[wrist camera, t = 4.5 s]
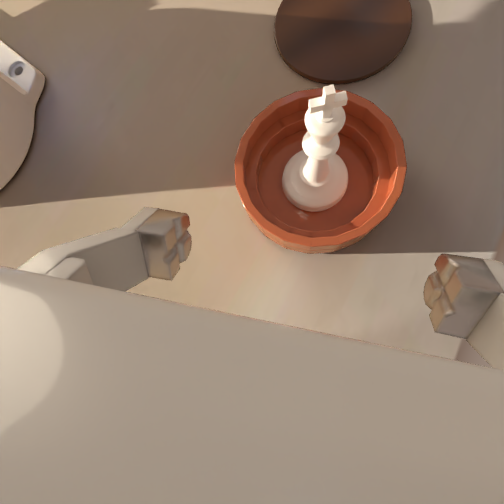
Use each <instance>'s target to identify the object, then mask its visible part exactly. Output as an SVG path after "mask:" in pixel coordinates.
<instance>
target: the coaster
mask: <svg viewBox="0 0 504 504" xmlns="http://www.w3.org/2000/svg"><path fill="white" fill-rule="evenodd" d="M411 23H412V11H411V6H410V3H409V0H283V1H282V3H281V5H280V7H279V9H278V12H277V15H276V18H275V24H274V34H275V42H276V45H277V49H278V51H279V53H280V55H281V57H282V58H283V60H284V61H285V62H286V63H287V64H288V66H289V67H290V68H292V69H293V70H294V71H295V72H297V73H298V74H300V75H302V76H303V77H306V78H308V79H310V80H313V81H317V82H321V83H327V84H345V83H351V82H356V81H359V80H363V79H365V78H368V77H370V76H372V75H374V74H376V73H378V72H379V71H381V70H382V69H384V68H385V67H386V66H388V65H389V64H390V63H391V62H392V61H393V60H394V59H395V58H396V57H397V55H398V54H399V53H400V52H401V50H402V48H403V47H404V45H405V43H406V40H407V38H408V36H409V33H410V29H411Z"/></svg>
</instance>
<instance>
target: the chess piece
mask: <svg viewBox="0 0 504 504" xmlns="http://www.w3.org/2000/svg"><path fill="white" fill-rule="evenodd" d="M347 100H348V98H347V94H346V91H342V92H338V93H336V92H335V88H334V84H332V85H328V86H324V88H323V95H322V96H321V97H317V98H313V99H309V103H308V107H309V108H308V110H307V112H306V114H305V125H306V128H307V130H308V131H307V132H306V134H305V135H304V137H303V140H302V147H303V150H302V151H300V152H298V153H296V154H295V155H294V156H293V157H292V158H291V159H290V160H289V161H288V163H287V164H286V166H285V169H284V172H283V176H282V188H283V191H284V194H285V196H286V197H287V199H288V200H289V201H290V202H291V203H292V204H293V205H294V206H296V207H298V208H299V209H302V210H305V211H310V212H318V211H323V210H327V209H329V208H331V207H333V206H334V205H336V204H337V203H338V202H339V201H340V200H341V199H342V197H343V196H344V194H345V192H346V189H347V185H348V171H347V167H346V165H345V163H344V162H343V160H342V159H341V158H340V157H339V156H338V155H337V154H336V152H337V150H338V148H339V145H340V140H339V136H338V132H339V131H340V130H341V129H342V127H343V126H344V123H345V119H346V116H345V111H344V109H343V108H342V106H345V105H346V104H347Z"/></svg>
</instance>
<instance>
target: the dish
mask: <svg viewBox="0 0 504 504" xmlns="http://www.w3.org/2000/svg"><path fill="white" fill-rule="evenodd" d="M342 91H343V90H336V89H335V92H336V93H338V92H342ZM346 94H347V98H348V100H347V104H346V105H345V106H342V108H343V109H344V111H345V116H346V119H345V123H344V126H343V127H342V129H341V130H340V131H339V132H338V136H339V140H340V145H339V148H338V150H337V152H336V154H337V155H338V156H339V157H340V158H341V159H342V160H343V162H344V163H345V165H346V167H347V171H348V185H347V189H346V192H345V194H344V196H343V197H342V199H341V200H340V201H339V202H338V203H337V204H336V205H334V206H333V207H331V208H329V209H327V210H323V211H318V212H310V211H305V210H302V209H299V208H298V207H296V206H294V205H293V204H292V203H291V202H290V201H289V200H288V199H287V197H286V196H285V194H284V191H283V188H282V176H283V172H284V169H285V166H286V164H287V163H288V161H289V160H290V159H291V158H292V157H293V156H294V155H295V154H296V153H298V152H300V151H302V150H303V147H302V140H303V137H304V135H305V134H306V132H307V131H308V130H307V128H306V125H305V114H306V112H307V110H308V108H309V107H308V103H309V99H313V98H317V97H321V96H322V95H323V88H318V89H311V90H304V91H298V92H294V93H292V94H290V95H288V96H285V97H283V98H281V99H279V100H276V101H274V102H273V103H272V104H271V105H269V106H268V107H267V108H266V109H265V110H263V111H262V112H261V113H260V114H259V115H257V116H256V117H255V118H254V120H253V121H252V123H251V124H250V126H249V127H248V129H247V130H246V132H245V133H244V135H243V136H242V138H241V140H240V144H239V147H238V151H237V154H236V158H235V181H236V187H237V190H238V192H239V195H240V197H241V200H242V202H243V205H244V207H245V209H246V211H247V213H248V215H249V217H250V219H251V220H252V221H253V223H254V224H255V225H256V226H257V227H258V228H259V230H260V231H261V232H262V233H263V234H264V235H265V236H266V237H267V238H269V239H271V240H272V241H274V242H276V243H277V244H279V245H281V246H282V247H284V248H286V249H290V250H294V251H299V252H303V253H307V254H314V253H327V252H335V251H338V250H340V249H343V248H345V247H348V246H350V245H353V244H355V243H357V242H359V241H360V240H361V239H362V238H363V237H365V236H366V235H367V234H368V233H369V232H371V231H372V230H373V229H374V228H375V227H376V226H377V225H379V224H380V223H381V222H382V221H383V220H384V219H385V218H386V217H387V216H388V215H389V213H390V212H391V210H392V208H393V207H394V205H395V203H396V202H397V200H398V198H399V197H400V195H401V193H402V190H403V185H404V180H405V175H406V170H407V163H406V157H405V150H404V144H403V140H402V138H401V136H400V135H399V133H398V131H397V129H396V127H395V125H394V124H393V122H392V120H391V119H390V118H389V117H388V116H387V115H386V114H385V113H384V112H382V111H381V110H380V109H379V108H378V107H377V106H376V105H375V104H374V103H371V101H369V100H367V99H364V98H362V97H360V96H358V95H356V94H353V93H351V92H348V91H346Z"/></svg>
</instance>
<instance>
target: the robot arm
mask: <svg viewBox="0 0 504 504" xmlns="http://www.w3.org/2000/svg"><path fill="white" fill-rule="evenodd" d="M44 84H45V77H44V75H43V74H42V73H41V72H40V71H39V70H38V69H36V68H35V67H34V66H33V65H31V64H30V63H29V62H28V61H26V60H25V59H24V58H23V57H21V56H20V55H19V54H18V53H16V52H15V51H14V50H12V49H11V48H10V47H9V46H7V45H6V44H5V43H4V42H2V41H1V40H0V190H1V189H2V188H3V187H4V186H5V185H6V184H7V183H8V182H9V181H10V180H11V179H12V177H13V176H14V175H15V173H16V172H17V171H18V169H19V168H20V166H21V164H22V163H23V161H24V159H25V157H26V155H27V152H28V150H29V147H30V144H31V140H32V136H33V130H34V114H35V107H36V104H37V102H38V100H39V97H40V95H41V93H42V90H43V87H44ZM189 226H190V221H189V216H188V215H187V214H186V213H181V212H175V211H169V210H164V209H159V208H152V207H144V208H143V209H142V210H140V211H139V212H138V213H137V214H136V215H135V216H134V217H132V218H131V219H130V220H129V221H128V222H127V223H125V224H124V225H123V226H122V227H121V228H113V229H110V230H107V231H103V232H100V233H97V234H94V235H90V236H87V237H84V238H81V239H77V240H74V241H71V242H67V243H64V244H61V245H58V246H54V247H51V248H48V249H44V250H42V251H40V252H39V253H38V254H36V255H35V256H34V257H32V258H31V259H29V260H28V261H27V262H25V263H24V264H22V265H21V266H20V267H18V268H17V269H14V268H9V267H4V266H0V504H504V264H503V263H502V262H500V261H498V260H489V259H481V258H473V257H465V256H458V255H450V254H441V255H440V256H439V257H438V259H437V261H436V262H435V267H436V269H437V271H436V272H434V273H432V274H431V275H429V276H428V278H427V281H426V283H425V286H424V292H423V293H424V301H425V304H426V305H427V306H428V307H429V308H430V309H431V310H432V311H431V313H430V314H429V316H430V319H431V322H432V325H433V328H434V331H435V332H436V333H441V334H446V335H450V336H455V337H459V338H464V339H466V341H467V342H468V343H469V344H470V345H471V346H472V347H473V348H474V349H475V350H476V351H477V353H478V354H479V355H480V356H481V357H482V358H483V359H484V360H485V361H486V362H487V363H488V364H489V365H490V366H491V367H492V368H490V367H485V366H480V365H476V364H471V363H466V362H461V361H457V360H452V359H447V358H442V357H437V356H432V355H428V354H423V353H418V352H413V351H408V350H404V349H399V348H394V347H389V346H384V345H379V344H375V343H370V342H365V341H360V340H355V339H351V338H346V337H341V336H336V335H331V334H326V333H322V332H317V331H312V330H307V329H302V328H298V327H293V326H288V325H283V324H278V323H274V322H269V321H264V320H259V319H254V318H250V317H245V316H240V315H235V314H230V313H225V312H221V311H216V310H211V309H206V308H201V307H197V306H192V305H187V304H182V303H177V302H173V301H168V300H163V299H158V298H153V297H149V296H144V295H139V294H134V293H129V292H125V291H127V290H129V289H130V288H132V287H134V286H136V285H137V284H139V283H141V282H142V281H144V280H146V279H148V277H153V278H159V279H165V280H171V281H172V280H173V278H174V277H175V275H176V274H177V272H178V271H179V269H180V263H182V262H184V261H186V259H187V258H188V256H189V253H190V250H191V244H192V240H191V235H190V234H189V232H188V231H187V228H188V227H189Z"/></svg>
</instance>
